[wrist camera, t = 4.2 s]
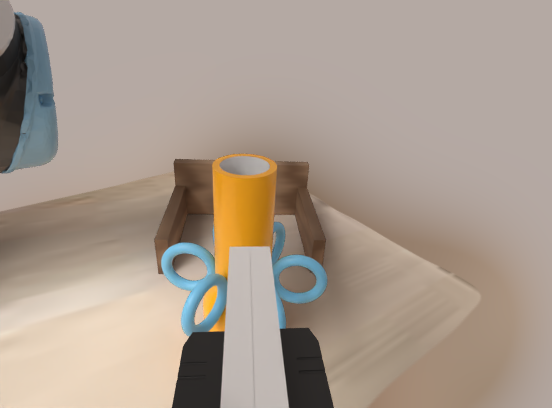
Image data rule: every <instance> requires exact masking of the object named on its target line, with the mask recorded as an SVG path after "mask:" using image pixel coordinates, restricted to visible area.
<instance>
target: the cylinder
mask: <svg viewBox="0 0 552 408" xmlns="http://www.w3.org/2000/svg"><path fill="white" fill-rule="evenodd" d="M212 174H213V208H214V225H213V242H214V247H215V258H214V257H213V255H212V254H211V253H210V252H209V251H208V250H206V249H205V248H203V247H202V246H199V245H197V244H193V243H178V244H175V245H172V246H171V247H169V248H168V249H167V250H166V251H165V252H164V254H163V256H162V260H161V267H162V270H163V273H164V275H165V276H166V278H167V279H168V280H169V281H170V282H171V283H172V284H174V285H175V286H177V287H179V288H181V289H184V290H188V291H191V293H190V294H189V296H188V298H187V300H186V302H185V305H184V308H183V311H182V317H181V325H182V329H183V331H184V333H185V334H186V335H187V336H189V337H190V335H191V334H192V332H214V331H225V318H226V301H227V284H228V266H229V249H230V247H266V246H270V252H271V260H272V268H273V277H274V285H275V294H276V302H277V311H278V319H279V328H280V329H286V317H285V312H284V307H283V304H282V300H281V299H283V300H285V301H287V302H291V303H297V304H302V303H308V302H311V301H314V300H316V299H317V298H319V297H320V296H321V295H322V294H323V292H324V291H325V289H326V286H327V275H326V272H325V270H324V268H323V267H322V266H321V264H320V263H318V262H317V261H316V260H314V259H312V258H310V257H307V256H304V255H289V256H285V257H283V258H281V259H279V260H278V258H279V257H280V254H281V252H282V249H283V246H284V242H285V229H284V226H283V225H282V224H281V223H279V222H274V210H275V193H276V177H277V164H276V163H275V162H274V161H273V160H271V159H269V158H266V157H263V156H259V155H252V154H233V155H227V156H223V157H220V158H218V159H216V160H215V161H214V162H213V164H212ZM274 232H276V242H275V245H274V248H273V251H272V243H273V233H274ZM182 253H188V254H192V255H195V256H197V257H199V258H200V259H201V260H202V261H203V262H204V263H205V264H206V266H207V275H206V277H205V278H203V279H201V280H197V281H192V280H187V279H185V278H183V277H181V276H179V275H178V274H177V273H176V272H175V270H174V269H173V266H172V260H173V258H174V257H175V256H176V255H178V254H182ZM277 260H278V261H277ZM291 266H302V267H305V268H308V269H309V270H311V271H312V272H313V273H314V274H315V276H316V280H317V281H316V285H315V286H314V288H312V289H311V290H310V291H307V292H304V293H294V292H291V291H288V290H286V289H285V288H284V287H283V286H282V285H281V284H280V281H279V275H280V273H281V272H282V271H283V270H284V269H285V268H288V267H291ZM203 296H204V299H203V314H204V320H203V321H202V322H201V323H200V324H198V325H195V323H194V317H195V312H196V309H197V307H198V305H199V303H200V301H201V299H202V297H203Z"/></svg>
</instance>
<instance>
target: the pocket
mask: <svg viewBox="0 0 552 408" xmlns="http://www.w3.org/2000/svg"><path fill="white" fill-rule="evenodd" d="M214 161H215V160H191V159H175V161H174V173H175V185H176V186H175V188H174V191H173V193H172V196H171V199H170V201H169V204H168V206H167V209H166V212H165V214H164V217H163V219H162V222H161V224H160V227H159V230H158V232H157V235H156V237H155V248H156V257H157V265H158V273H159V274H164V273H163V270H162V267H161V260H162V256H163V254H164V252H165V251H166V250H167V249H168V248H169V247H171V246H172V245H175V244H178V243H180V239H181V235H182V232H183V228H184V224H185V221H186V217H187V214H214V208H213V174H212V164H213V162H214ZM274 162H275V163H276V164H277V177H276V193H275V210H274V214H276V215H295V217H296V221H297V224H298V228H299V232H300V236H301V240H302V244H303V248H304V252H305V256H307V257H310V258H312V259H314V260H316V261H317V262H318V263H320V264H321V266H322V264H323V257H324V250H325V243H326V239H325V236H324V234H323V231H322V228H321V225H320V223H319V220H318V217H317V214H316V212H315V209H314V206H313V203H312V201H311V198H310V195H309V192H308V190H307V181H308V170H309V164H308V162H281V161H274ZM175 257H176V256H175ZM175 257H174V258H173V260H172V266H173V265H174V261H175ZM309 271H310V272H312V271H311V270H309Z"/></svg>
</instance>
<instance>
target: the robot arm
mask: <svg viewBox="0 0 552 408" xmlns="http://www.w3.org/2000/svg"><path fill="white" fill-rule="evenodd" d="M53 97H54V93H53V82H52V74H51V67H50V60H49V54H48V48H47V43H46V38H45V33H44V29H43V26H42V24H41V23H40V22H39V21H38V19H36V18H34V17H31V16H26V15H24V14H22V13H21V12H17V13H15V12H13V9H12V6H11V4H10V2H9V0H0V173H10V172H13V171H14V170H17V169H23V168H30V167H36V166H41V165H44V164H47V163H49V162H50V161H51V160H52V159H53V158H54V157H55V155H56V153H57V150H58V130H57V117H56V110H55V102H54V100H53ZM172 408H334V407H333V402H332V398H331V394H330V389H329V385H328V381H327V376H326V373H325V368H324V364H323V360H322V355H321V351H320V346H319V342H318V340H317V339H316V337H315V336H314V335H313V333H312V332H311V331H310V329H309V328H288V329H280V328H279V319H278V311H277V302H276V294H275V285H274V277H273V268H272V260H271V252H270V246H266V247H230V249H229V266H228V284H227V301H226V318H225V331H214V332H192V334H191V335H190V337H189V338H188V340H187V341H186V343H185V344H184V346H183V350H182V356H181V361H180V367H179V372H178V380H177V383H176V389H175V394H174V400H173V405H172Z"/></svg>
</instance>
